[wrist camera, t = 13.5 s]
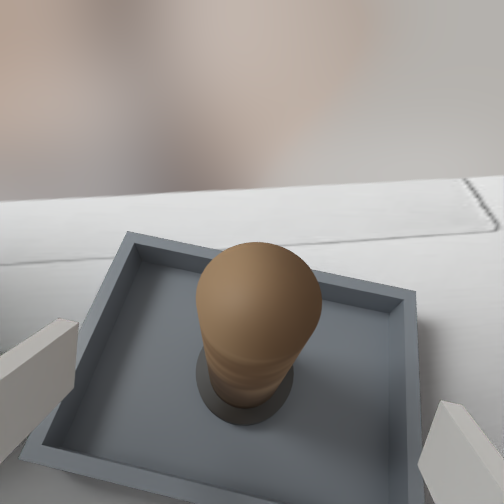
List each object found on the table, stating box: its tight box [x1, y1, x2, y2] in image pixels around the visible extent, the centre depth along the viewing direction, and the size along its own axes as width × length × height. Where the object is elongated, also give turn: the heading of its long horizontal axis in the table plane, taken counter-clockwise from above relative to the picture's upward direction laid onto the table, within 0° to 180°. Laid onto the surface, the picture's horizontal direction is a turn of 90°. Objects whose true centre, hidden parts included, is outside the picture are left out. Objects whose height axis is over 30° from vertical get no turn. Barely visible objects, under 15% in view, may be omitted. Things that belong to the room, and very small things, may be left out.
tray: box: [18, 231, 425, 504], centre depth 22 cm, size 20×14×4 cm
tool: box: [196, 242, 322, 426], centre depth 17 cm, size 6×6×12 cm
